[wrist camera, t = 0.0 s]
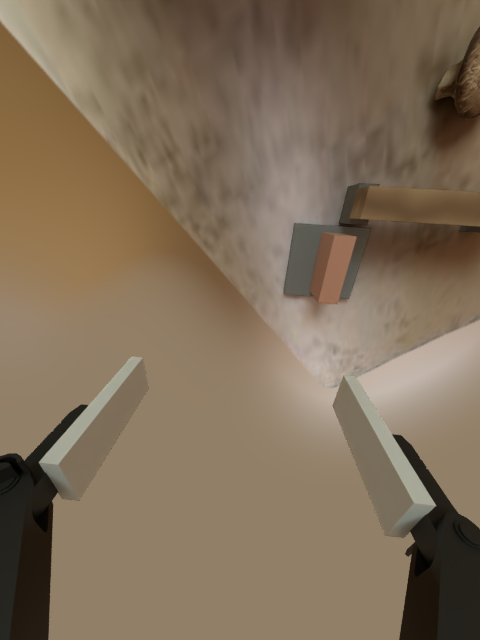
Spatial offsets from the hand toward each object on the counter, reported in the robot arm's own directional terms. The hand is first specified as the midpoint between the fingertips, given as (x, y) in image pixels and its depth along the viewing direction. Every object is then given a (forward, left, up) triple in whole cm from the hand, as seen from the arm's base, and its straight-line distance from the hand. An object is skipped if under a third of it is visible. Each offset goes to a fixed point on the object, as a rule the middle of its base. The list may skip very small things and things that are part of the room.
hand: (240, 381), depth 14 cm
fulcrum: (-3, +13, -28) cm, 31 cm away
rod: (-12, +25, -24) cm, 37 cm away
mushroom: (-26, +25, -28) cm, 46 cm away
